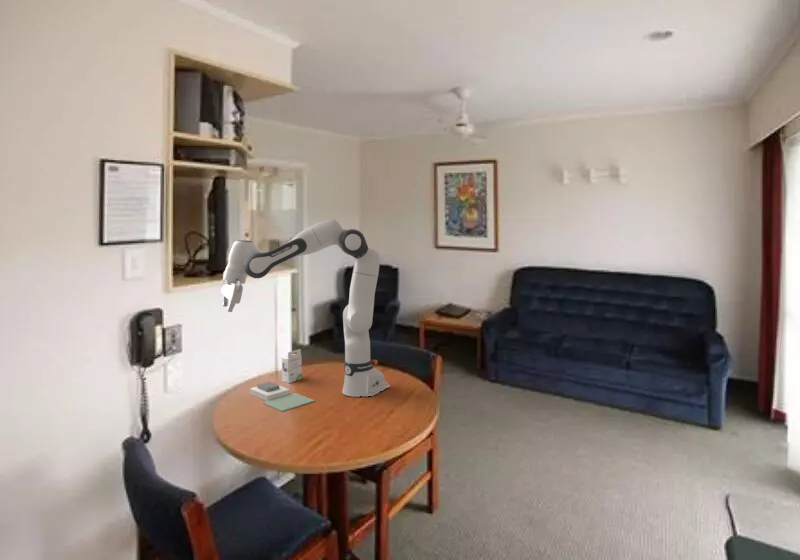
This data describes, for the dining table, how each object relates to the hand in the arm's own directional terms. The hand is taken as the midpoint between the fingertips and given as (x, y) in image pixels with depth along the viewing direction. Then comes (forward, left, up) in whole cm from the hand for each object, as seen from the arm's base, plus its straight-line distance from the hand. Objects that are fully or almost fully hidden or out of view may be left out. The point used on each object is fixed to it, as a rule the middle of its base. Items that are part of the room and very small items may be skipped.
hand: (226, 308), depth 208 cm
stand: (-14, +9, -39) cm, 42 cm away
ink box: (-32, -1, -39) cm, 51 cm away
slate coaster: (-14, +8, -36) cm, 39 cm away
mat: (-14, +23, -39) cm, 47 cm away
